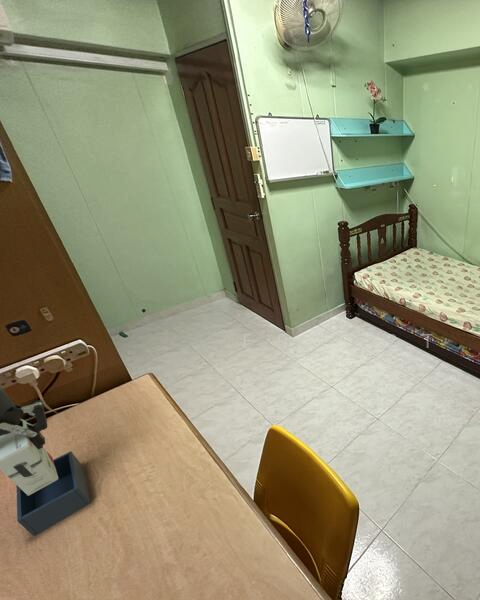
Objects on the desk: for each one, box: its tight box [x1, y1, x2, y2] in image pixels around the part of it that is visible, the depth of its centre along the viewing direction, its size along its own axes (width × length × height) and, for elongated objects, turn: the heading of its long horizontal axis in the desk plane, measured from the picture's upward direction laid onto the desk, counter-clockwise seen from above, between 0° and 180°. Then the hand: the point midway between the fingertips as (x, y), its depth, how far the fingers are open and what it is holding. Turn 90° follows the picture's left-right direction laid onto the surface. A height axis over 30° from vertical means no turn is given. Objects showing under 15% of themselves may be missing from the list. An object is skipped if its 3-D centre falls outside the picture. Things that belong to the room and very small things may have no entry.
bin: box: [16, 451, 92, 537], centre depth 72 cm, size 9×13×6 cm
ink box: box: [0, 432, 58, 496], centre depth 66 cm, size 8×5×12 cm, turn 51°
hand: (21, 454), depth 65 cm, fingers closed on ink box, 5 cm apart
